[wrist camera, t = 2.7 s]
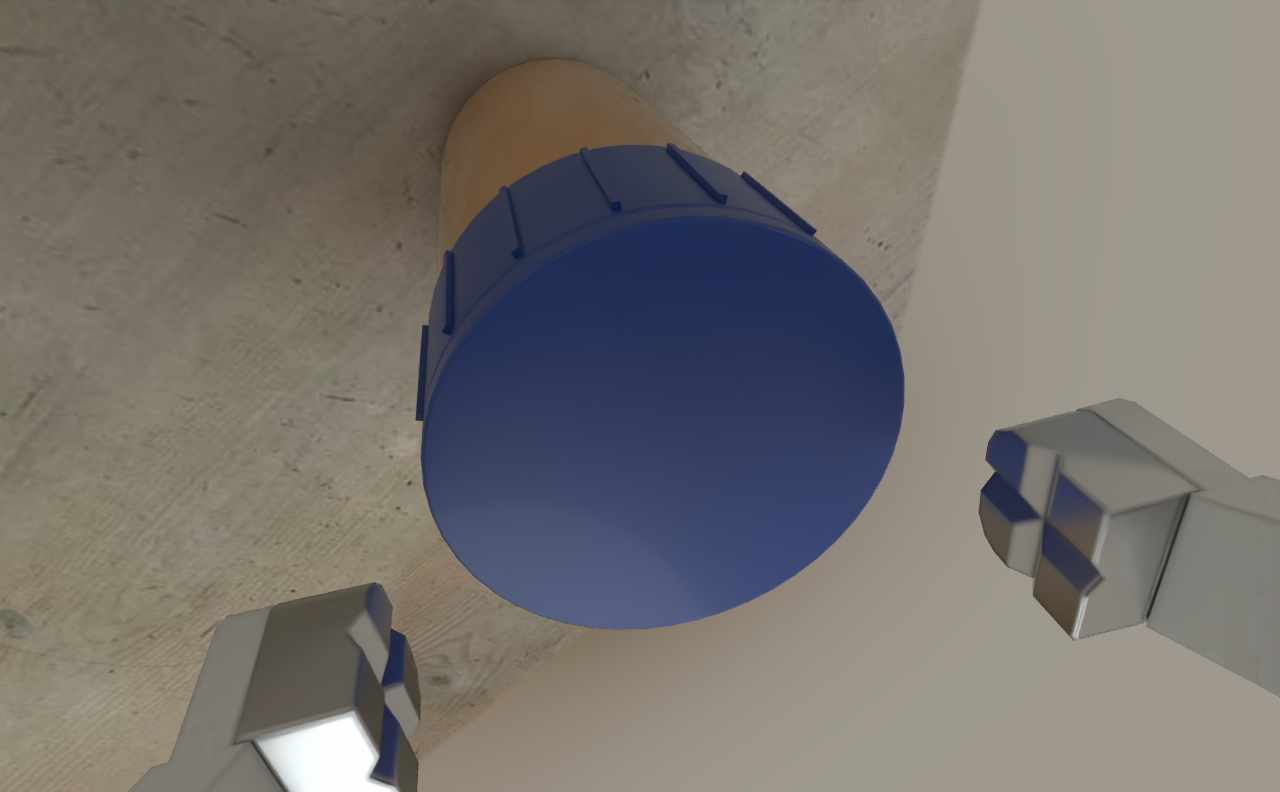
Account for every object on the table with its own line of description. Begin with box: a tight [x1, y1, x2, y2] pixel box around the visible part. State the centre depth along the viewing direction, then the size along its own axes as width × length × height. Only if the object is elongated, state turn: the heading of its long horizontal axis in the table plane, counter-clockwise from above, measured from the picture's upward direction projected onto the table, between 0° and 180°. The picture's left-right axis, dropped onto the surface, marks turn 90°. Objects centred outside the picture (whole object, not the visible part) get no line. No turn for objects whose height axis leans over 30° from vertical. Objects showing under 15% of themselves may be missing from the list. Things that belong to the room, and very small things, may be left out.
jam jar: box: [437, 59, 716, 281], centre depth 15 cm, size 6×6×12 cm
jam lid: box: [416, 143, 904, 630], centre depth 11 cm, size 6×6×3 cm
